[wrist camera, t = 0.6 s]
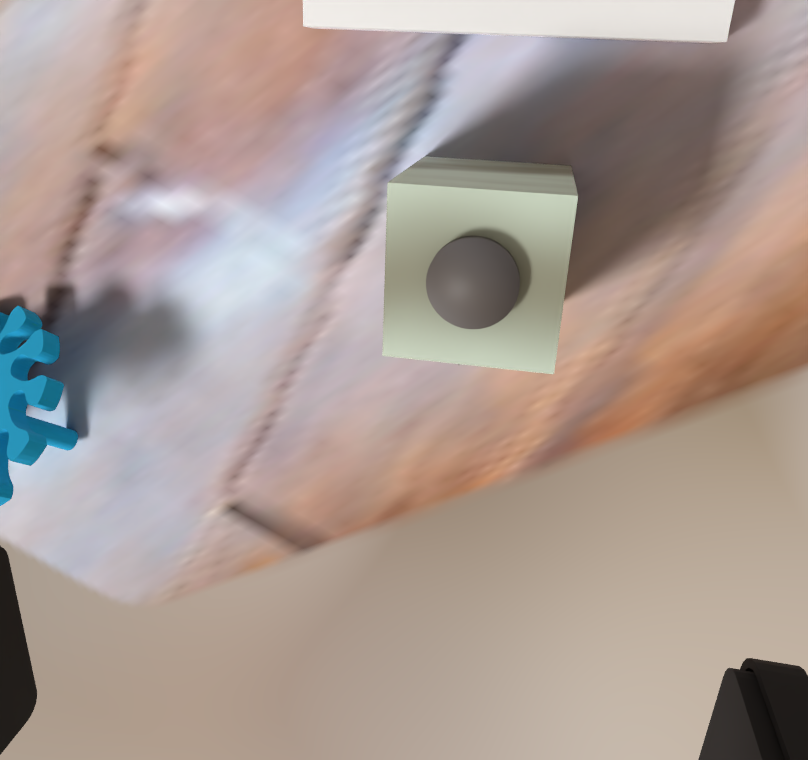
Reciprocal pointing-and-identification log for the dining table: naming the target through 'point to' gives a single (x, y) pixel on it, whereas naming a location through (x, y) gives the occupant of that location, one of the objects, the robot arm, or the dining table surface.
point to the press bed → (532, 18)
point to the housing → (478, 262)
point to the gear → (26, 394)
